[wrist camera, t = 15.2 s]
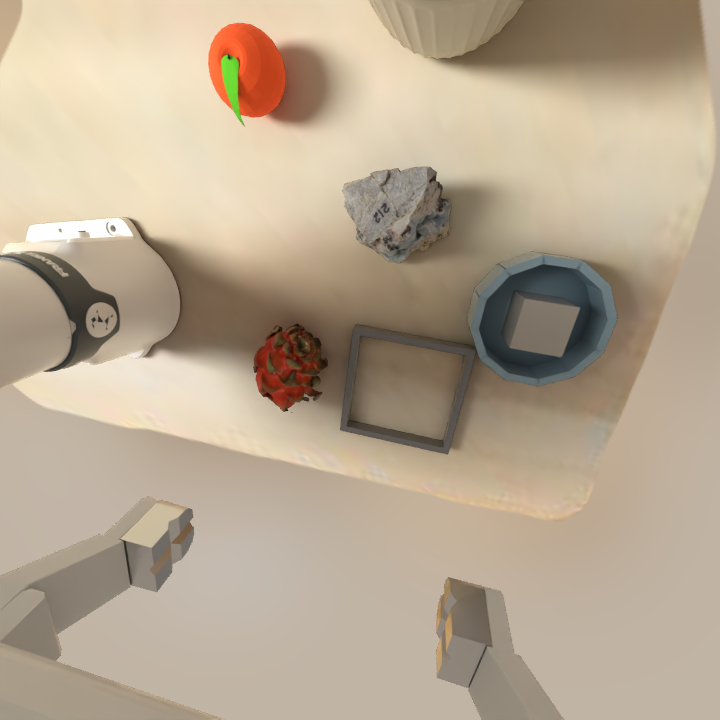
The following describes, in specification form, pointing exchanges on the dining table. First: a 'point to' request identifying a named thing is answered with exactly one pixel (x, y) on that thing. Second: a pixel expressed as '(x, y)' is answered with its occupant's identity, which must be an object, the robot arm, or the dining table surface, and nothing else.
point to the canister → (444, 23)
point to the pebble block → (539, 323)
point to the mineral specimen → (398, 211)
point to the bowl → (548, 279)
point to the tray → (397, 435)
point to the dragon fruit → (289, 366)
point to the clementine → (246, 70)
